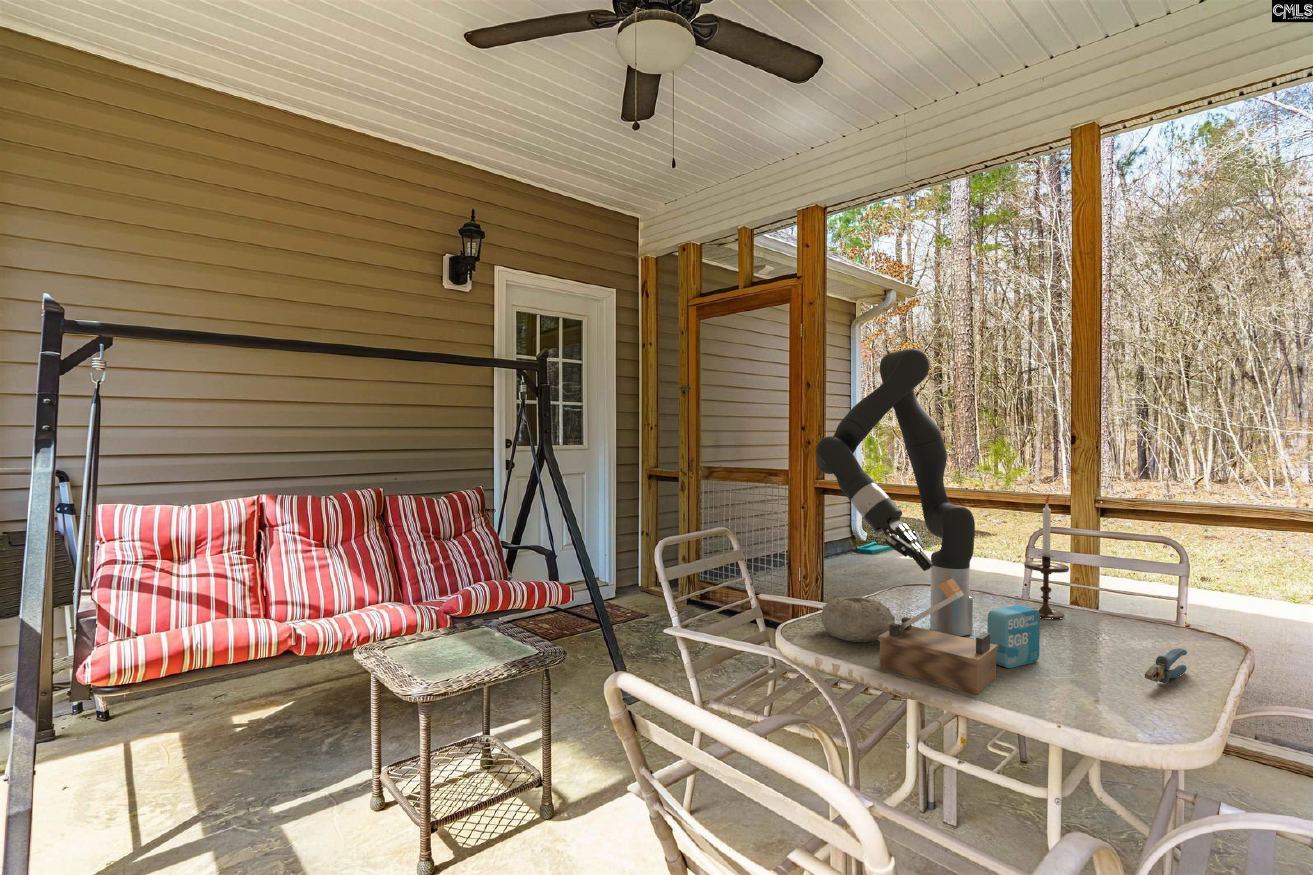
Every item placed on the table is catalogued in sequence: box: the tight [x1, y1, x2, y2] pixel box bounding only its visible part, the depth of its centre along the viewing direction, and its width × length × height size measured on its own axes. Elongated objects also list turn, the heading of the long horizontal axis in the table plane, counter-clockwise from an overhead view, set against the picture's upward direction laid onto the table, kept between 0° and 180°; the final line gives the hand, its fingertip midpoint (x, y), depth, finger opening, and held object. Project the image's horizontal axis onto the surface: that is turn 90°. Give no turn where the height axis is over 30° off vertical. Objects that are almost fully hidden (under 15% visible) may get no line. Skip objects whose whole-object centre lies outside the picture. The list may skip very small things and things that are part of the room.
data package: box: [986, 604, 1041, 669], centre depth 143 cm, size 12×4×12 cm, turn 116°
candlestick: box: [1023, 493, 1070, 619], centre depth 180 cm, size 11×11×35 cm
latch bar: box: [900, 578, 964, 632], centre depth 138 cm, size 17×4×4 cm
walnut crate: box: [877, 616, 998, 695], centre depth 136 cm, size 21×13×10 cm, turn 46°
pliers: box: [1144, 647, 1188, 684], centre depth 132 cm, size 20×2×6 cm, turn 124°
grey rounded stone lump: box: [820, 595, 896, 643], centre depth 159 cm, size 18×18×10 cm
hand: (929, 568), depth 137 cm, fingers closed
